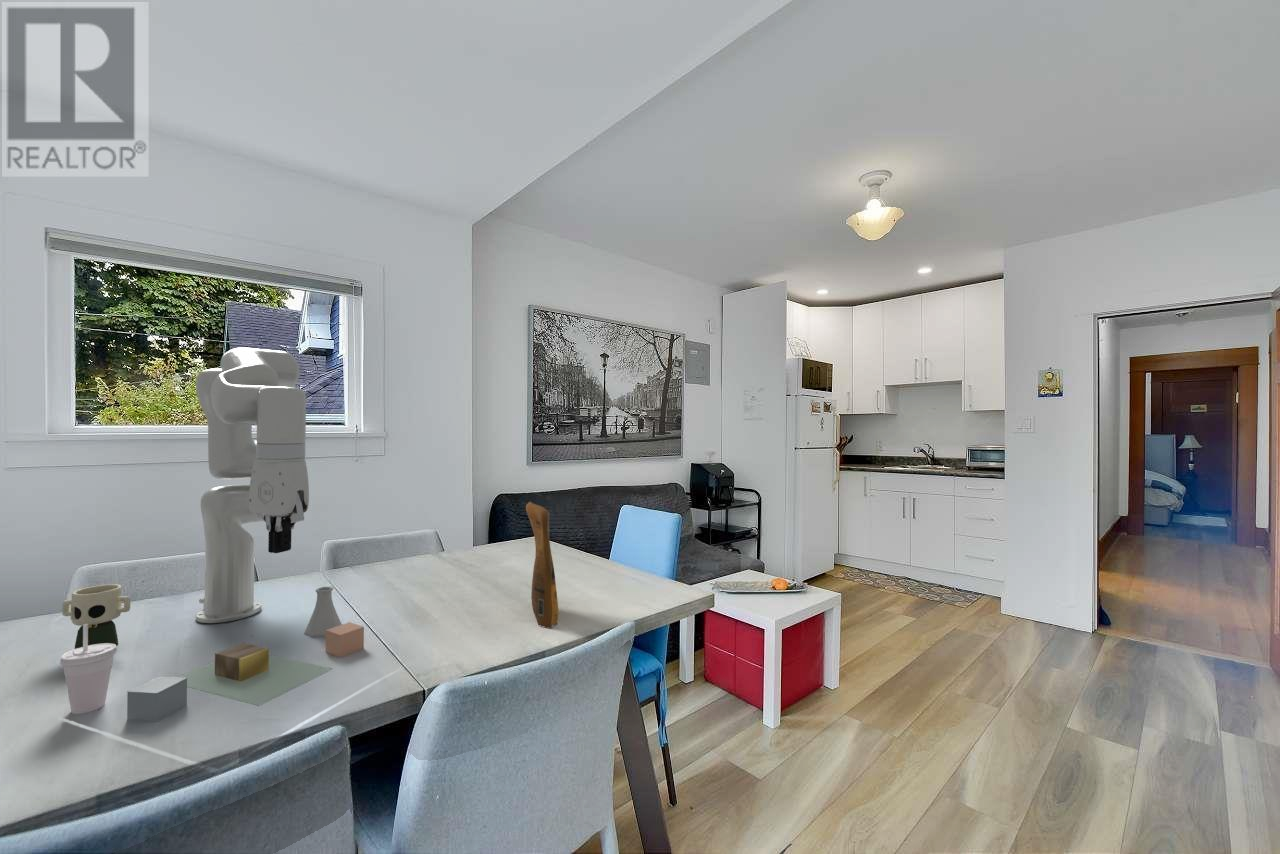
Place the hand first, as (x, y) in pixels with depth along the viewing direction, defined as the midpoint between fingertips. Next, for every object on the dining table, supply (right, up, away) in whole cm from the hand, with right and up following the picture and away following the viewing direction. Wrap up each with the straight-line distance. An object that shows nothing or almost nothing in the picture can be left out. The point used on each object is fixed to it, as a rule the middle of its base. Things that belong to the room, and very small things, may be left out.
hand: (279, 551), depth 98 cm
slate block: (-11, -23, -13) cm, 29 cm away
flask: (-4, -24, +21) cm, 31 cm away
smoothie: (-23, -23, -12) cm, 35 cm away
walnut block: (-4, -21, -1) cm, 21 cm away
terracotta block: (+6, -24, +11) cm, 27 cm away
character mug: (-43, -23, +9) cm, 50 cm away
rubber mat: (-5, -23, 0) cm, 24 cm away
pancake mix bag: (+43, -24, +32) cm, 59 cm away
